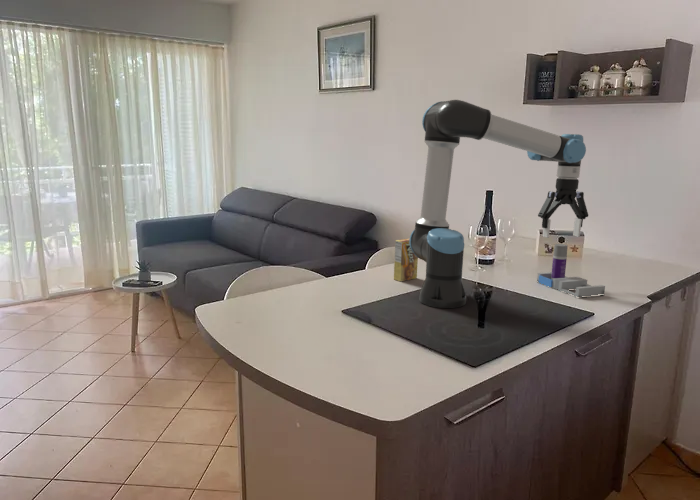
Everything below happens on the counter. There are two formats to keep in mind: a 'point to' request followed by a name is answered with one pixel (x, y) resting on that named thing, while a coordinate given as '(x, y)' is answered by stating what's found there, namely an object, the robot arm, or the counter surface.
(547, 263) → the counter surface
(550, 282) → the grey and blue rack
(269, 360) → the counter surface
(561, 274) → the container
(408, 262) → the candy box
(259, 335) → the counter surface
